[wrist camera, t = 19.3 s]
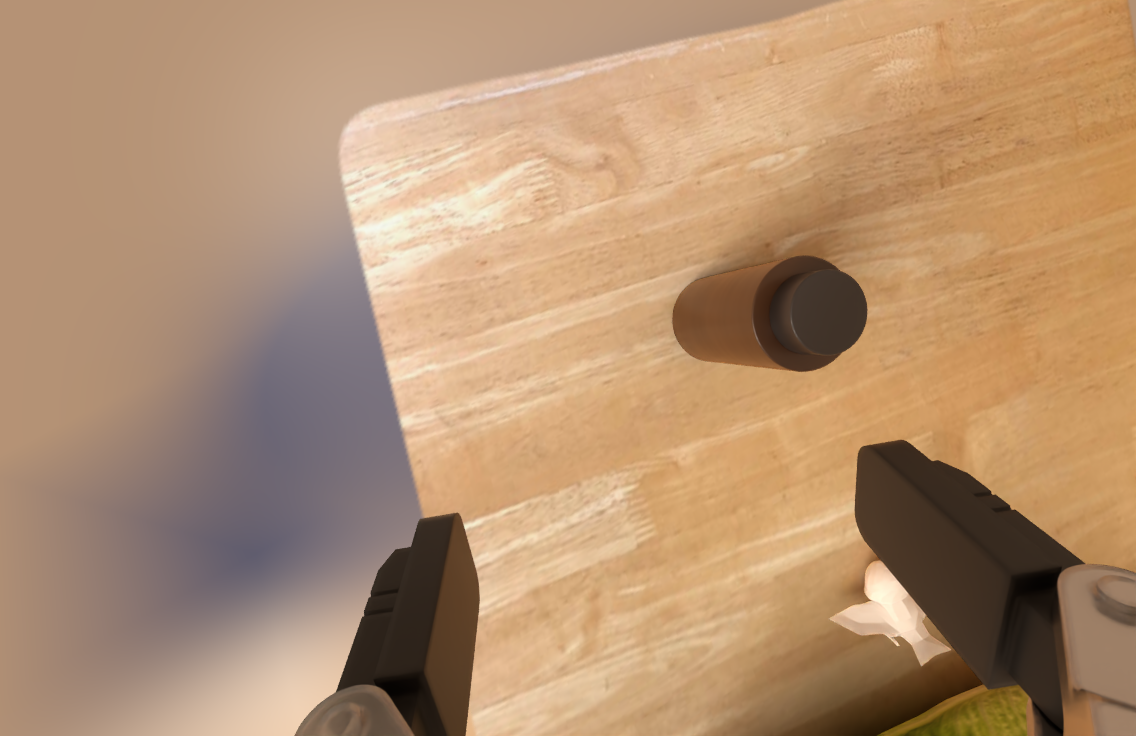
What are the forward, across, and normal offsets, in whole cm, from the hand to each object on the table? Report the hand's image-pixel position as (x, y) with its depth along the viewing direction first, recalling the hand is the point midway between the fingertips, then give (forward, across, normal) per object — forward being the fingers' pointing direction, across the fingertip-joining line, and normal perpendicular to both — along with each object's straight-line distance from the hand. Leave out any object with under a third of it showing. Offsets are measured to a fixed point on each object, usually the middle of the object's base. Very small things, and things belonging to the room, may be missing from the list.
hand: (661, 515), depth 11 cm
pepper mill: (+20, -7, +3) cm, 21 cm away
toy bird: (+16, -14, +20) cm, 29 cm away
